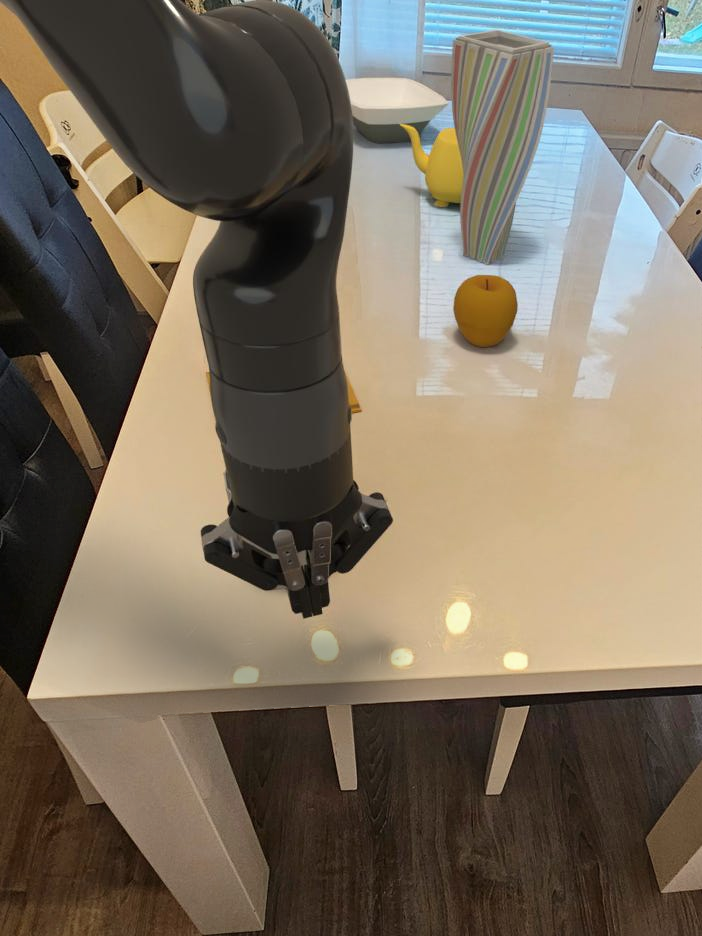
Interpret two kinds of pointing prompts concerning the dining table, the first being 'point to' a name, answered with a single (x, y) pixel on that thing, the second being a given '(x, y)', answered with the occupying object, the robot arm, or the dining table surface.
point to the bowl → (392, 107)
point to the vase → (496, 130)
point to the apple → (485, 309)
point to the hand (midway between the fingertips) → (310, 607)
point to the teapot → (440, 165)
